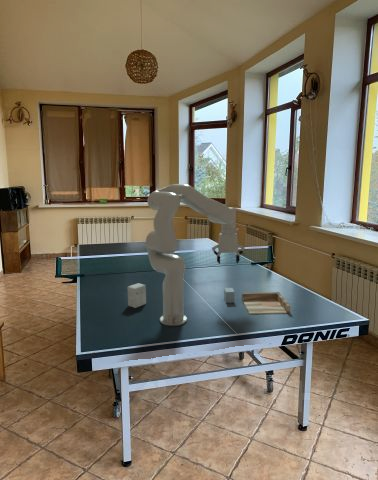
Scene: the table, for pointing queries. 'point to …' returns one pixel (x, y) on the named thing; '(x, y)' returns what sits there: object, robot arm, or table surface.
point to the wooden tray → (265, 303)
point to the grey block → (229, 295)
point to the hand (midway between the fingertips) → (228, 262)
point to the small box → (136, 295)
